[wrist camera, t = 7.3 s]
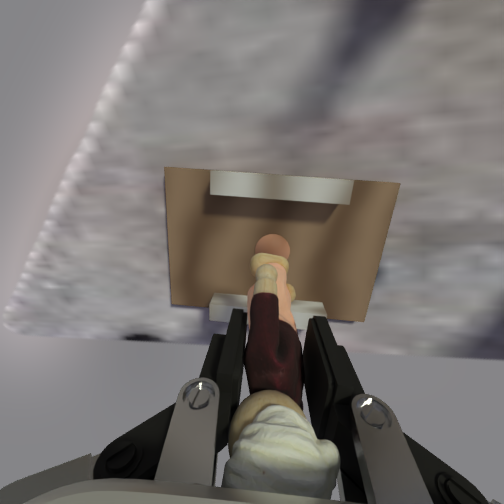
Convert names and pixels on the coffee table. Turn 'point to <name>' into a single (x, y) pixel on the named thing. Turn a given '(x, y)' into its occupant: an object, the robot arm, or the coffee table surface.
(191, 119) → the coffee table surface
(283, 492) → the grandmother figurine
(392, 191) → the board
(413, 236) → the coffee table surface
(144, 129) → the coffee table surface
